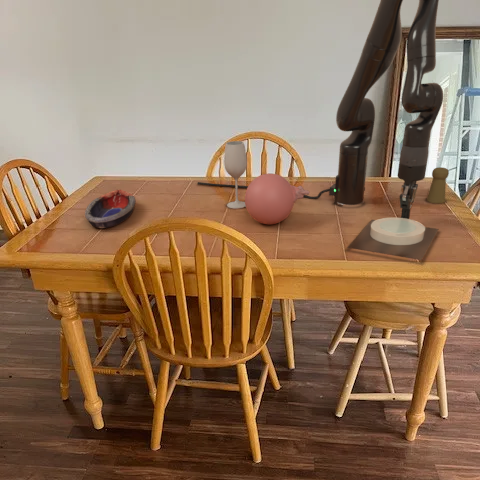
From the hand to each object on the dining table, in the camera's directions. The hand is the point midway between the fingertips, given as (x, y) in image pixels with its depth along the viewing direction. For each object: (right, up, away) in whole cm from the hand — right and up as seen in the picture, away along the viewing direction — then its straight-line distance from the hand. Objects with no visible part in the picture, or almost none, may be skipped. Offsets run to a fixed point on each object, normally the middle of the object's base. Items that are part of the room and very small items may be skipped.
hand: (404, 219), depth 150 cm
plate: (-4, -6, -6) cm, 9 cm away
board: (-5, -8, -7) cm, 11 cm away
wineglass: (-51, +10, +25) cm, 57 cm away
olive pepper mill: (+18, +11, +22) cm, 30 cm away
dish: (-93, +5, +20) cm, 95 cm away
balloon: (-38, +1, +9) cm, 39 cm away
